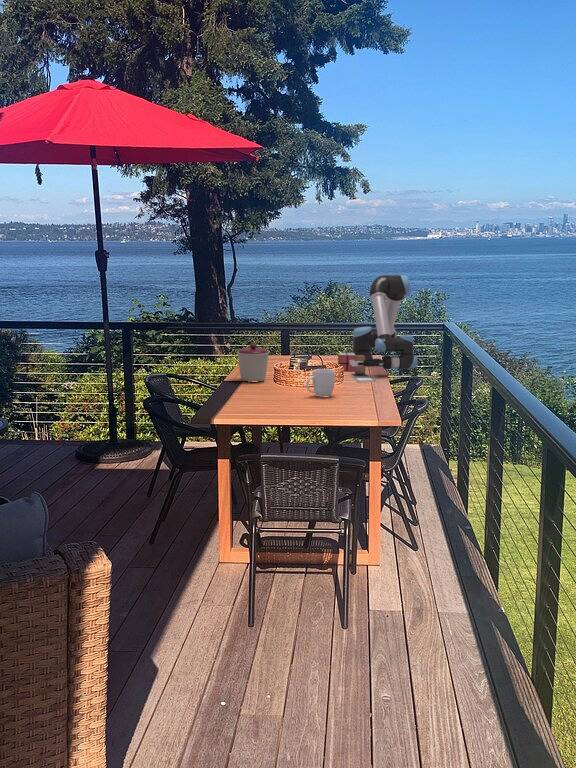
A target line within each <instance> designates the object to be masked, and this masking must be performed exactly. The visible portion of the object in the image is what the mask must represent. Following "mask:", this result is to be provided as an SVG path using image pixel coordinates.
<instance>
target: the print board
mask: <svg viewBox="0 0 576 768" xmlns="http://www.w3.org/2000/svg"><path fill="white" fill-rule="evenodd" d="M351 378H352V377H351ZM353 379H354V380H353ZM352 380H353V381H354V382H356V383H377V382H376V381H377V379H375V378H373V377H370V376H369V377H357V378H352Z"/></svg>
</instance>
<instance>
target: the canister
mask: <svg viewBox="0 0 576 768" xmlns="http://www.w3.org/2000/svg"><path fill="white" fill-rule="evenodd" d="M236 353H237V359H238V360H237V361H238V369H239V373H240V379H241V381H242V380H243V381H242V382H244V381H262V382H264V381H265V380H266V377H267V370H268V369H267V368H268V360H269V354H270V351H269V350H268V349H267V348H262V347H257V344H256V343H249V347H244V348H240V349H238V350H237V351H236ZM263 380H264V381H263Z"/></svg>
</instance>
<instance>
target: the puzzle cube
mask: <svg viewBox="0 0 576 768" xmlns="http://www.w3.org/2000/svg"><path fill="white" fill-rule="evenodd" d="M355 356H356V355H355V353H353V352H338V353H337V357H338V358H337V365H338V364H340V365H342V366H343V368H344V372H343V373H345V372H348V373H354V369H355V366H352V365H350V360H355Z"/></svg>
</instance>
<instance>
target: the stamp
mask: <svg viewBox="0 0 576 768" xmlns="http://www.w3.org/2000/svg"><path fill="white" fill-rule="evenodd" d="M364 360H365V356H364V355H356V356H355V361H363V363H364ZM353 374H366V366H364V365H363V366H355V369H354V372H353Z"/></svg>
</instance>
